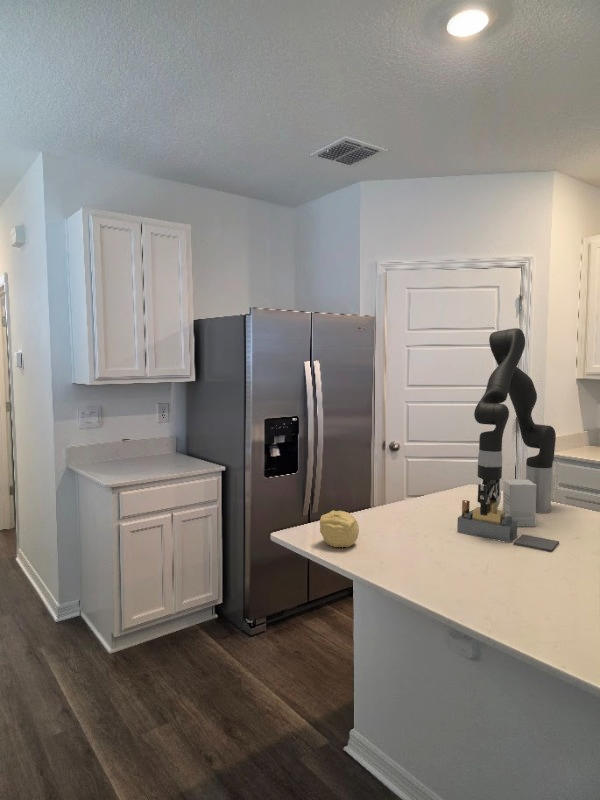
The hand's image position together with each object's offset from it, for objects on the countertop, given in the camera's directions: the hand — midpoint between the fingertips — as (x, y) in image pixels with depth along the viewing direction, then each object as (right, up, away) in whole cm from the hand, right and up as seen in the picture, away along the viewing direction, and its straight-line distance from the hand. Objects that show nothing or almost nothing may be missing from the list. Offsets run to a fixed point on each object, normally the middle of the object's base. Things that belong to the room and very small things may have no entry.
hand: (488, 512), depth 175 cm
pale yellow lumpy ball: (-50, -8, -10) cm, 51 cm away
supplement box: (+16, -7, +14) cm, 22 cm away
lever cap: (0, -3, 0) cm, 3 cm away
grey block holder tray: (0, -7, +1) cm, 8 cm away
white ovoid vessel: (+10, -6, +28) cm, 31 cm away
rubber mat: (+12, -8, -9) cm, 17 cm away
